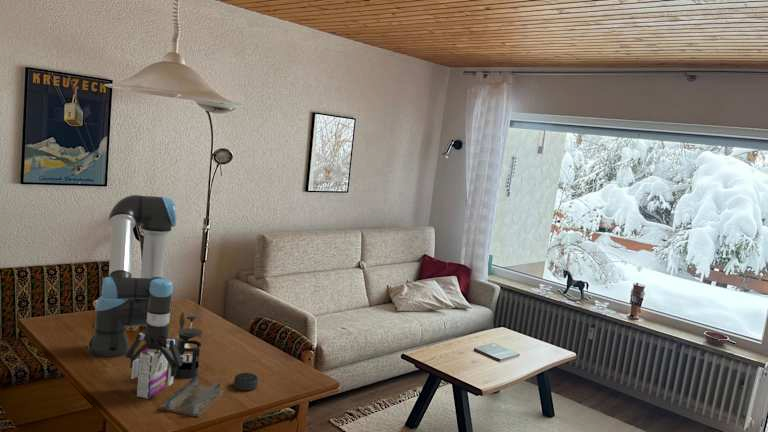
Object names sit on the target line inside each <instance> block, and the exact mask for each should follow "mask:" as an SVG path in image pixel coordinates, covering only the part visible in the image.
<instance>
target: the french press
mask: <svg viewBox="0 0 768 432" xmlns="http://www.w3.org/2000/svg"><path fill="white" fill-rule="evenodd" d="M197 319H198V317H197V316H194V315H187V316H186V320H189V321H190V327H189V328H188V327H187V328H184V329H181V330H180V329H178V331H177V335H178V334H179V338H180V339H181V340H178V343H177V348H178V351H179V354H180V357H181V360H182V363H183V364H182V365H181V366H180V367H177V371H176V375H175V376H174V377H176V378H179V379H186V380H187V379H193V378H197V376H199V373H200V372H199V370H200V368H199V367H200V365H199V359H200V353H201V352H200V351H201V349H202V343H201V342H200V341H197V340H194V339H193V340H192V338H196V337H199V338H200V339H201V337H202V335H203V330H201V329H197V328H193V327H192V324H193V322H194V321H195V320H197ZM187 343H188V345H189V346H190V348H189V346H188V348H185V344H187ZM191 344H192V345H196V347H192V348H191ZM185 352H187V353H185ZM191 353H192V354H191Z"/></svg>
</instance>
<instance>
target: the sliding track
mask: <svg viewBox="0 0 768 432" xmlns="http://www.w3.org/2000/svg"><path fill="white" fill-rule="evenodd" d="M220 387H221V382H220V381H215V382H214V383H213V384H212V385H211V386H206V385H202V384H199V377H194V378H191V380H189V381H188V382H187V383H186V384H184V385H183V386H182V387H181V388H179V389H178V390H177V391H176V392H175V393H173V394H172V395H171V396H170V397H169V398H167V399H166V400H165V401H164V402H163V403H162V404H161V405H160V406H159V410H160V411H161V410H162V411H166V412H171V413H175V414H180V415H181V414H182V415H185V416H191V417H196V418H200V417H201V416H202V415H203V414H204V413H205V412H206V411H207V410H208V409H209V408H210V407H211V406H212V405H213V404H214V403H215V402H216V401H217V400H218V399H219V398H220V397H221V396H222V395H223V394H224V393H225V389H221V388H220Z"/></svg>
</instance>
